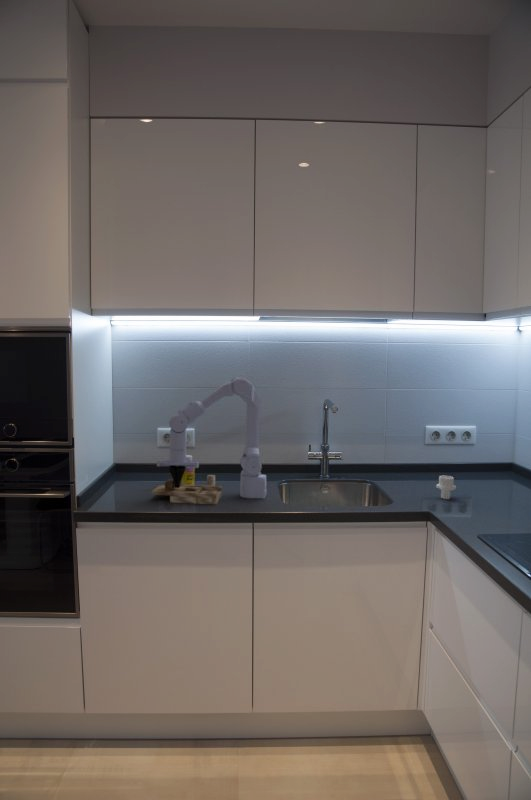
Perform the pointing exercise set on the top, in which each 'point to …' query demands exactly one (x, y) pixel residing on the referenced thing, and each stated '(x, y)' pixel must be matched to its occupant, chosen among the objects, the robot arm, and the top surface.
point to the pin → (210, 480)
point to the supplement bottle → (188, 474)
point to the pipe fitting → (446, 486)
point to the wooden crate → (198, 495)
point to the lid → (170, 487)
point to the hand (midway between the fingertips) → (177, 487)
